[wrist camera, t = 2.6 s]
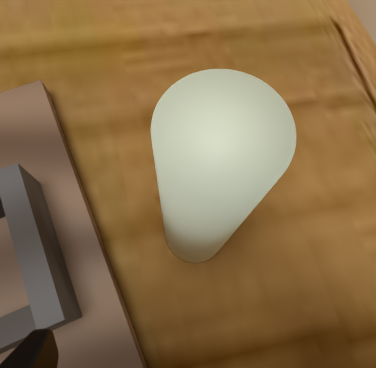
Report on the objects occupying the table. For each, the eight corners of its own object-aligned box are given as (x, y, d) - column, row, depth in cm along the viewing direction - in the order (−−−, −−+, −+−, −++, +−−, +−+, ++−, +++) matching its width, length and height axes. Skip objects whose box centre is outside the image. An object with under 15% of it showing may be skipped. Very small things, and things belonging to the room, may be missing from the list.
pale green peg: (197, 275, 20) (234, 230, 7) (152, 234, 20) (120, 131, 8) (235, 231, 21) (324, 126, 8) (192, 193, 21) (215, 46, 9)
